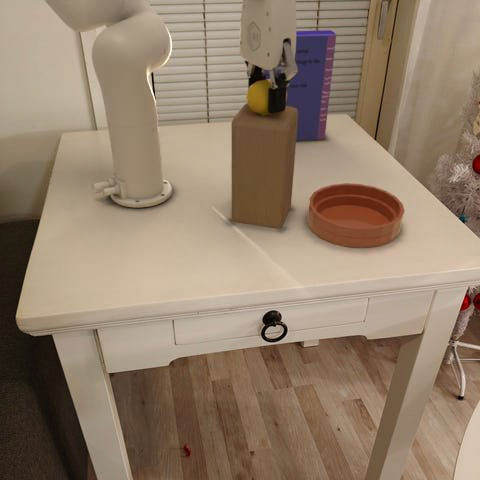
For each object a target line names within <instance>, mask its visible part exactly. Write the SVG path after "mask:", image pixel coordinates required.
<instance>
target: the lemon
mask: <svg viewBox="0 0 480 480" xmlns="http://www.w3.org/2000/svg"><path fill="white" fill-rule="evenodd" d="M269 88H272V87H271V81H270V79H268V80H262V81H257V82H255V83H254V84H252V85H251V86H250V88H249V89H248V88H247V92H246V103H247V104H248V106H249V107H250V109H251V110H252V111H254V112H255V113H258V114H261V115H262V116H263V115H268V114H270V113H269V112H268V90H269ZM286 100H287V90H286ZM272 114H273V113H272Z"/></svg>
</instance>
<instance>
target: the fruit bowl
mask: <svg viewBox="0 0 480 480" xmlns="http://www.w3.org/2000/svg"><path fill="white" fill-rule="evenodd" d="M307 206H308V207H307V216H306V217H307V220H306V224H307V226H308V227H309V229H310V231H311V232H312V233H313V234H315V235H316V236H317V237H318V238H320V239H322V240H324V241H326V242H329V243H331V244H333V245H337V246H342V247H347V248H357V249H361V248H362V249H367V248H375V247H380V246H383V245H386V244H389V243H391V242H392V241H393V240H395V239H396V238H397V237H398V236H399V234H400V231H401V228H402V225H403V224H402V223H403V220H404V215H405V207H404V204H403V202H402V201H401V200H400V199H399V198H398V197H397V196H395V195H394V194H392V193H390V192H389V191H387V190H384V189H381V188H379V187H376V186H372V185H366V184H361V183H350V182H349V183H348V182H346V183H335V184H334V183H333V184H330V185H326V186H323V187H320V188H319V189H317V190H316V191H313V192H312V194H311V196H310V197H309V198H308V205H307Z"/></svg>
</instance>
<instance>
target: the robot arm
mask: <svg viewBox="0 0 480 480" xmlns="http://www.w3.org/2000/svg"><path fill="white" fill-rule="evenodd" d="M44 2H45V3H46V4H47V5H48V6H49V8H50V9H51V10H52V11H53V12H54V13H55V14H56V16H58V18H59V19H60V20H61V21H62V22H63V23H64V24H65V25H66V26H67V27H68V28H70V29H71V30H73V31H75V32H78V33H86V32H91V31H94V30H96V29H97V30H98V29H99V28H101V27H104V26H105V27H106V28H104V29H103V30H102V31H101V32H99V34H98V35H97V36H96V38H95V40H94V41H93V45H92V49H91V59H92V61H91V62H92V65H93V69H94V72H95V73H94V74H95V75H96V79H97V81H98V84H99V88H100V92H101V95H102V100H103V107H104V112H105V118H106V123H107V130H108V137H109V143H110V150H111V155H112V162H113V163H112V164H113V168H114V172H111V173H110V178H107V180H106V181H100V182H96V183H95V182H94V183H93V184H92V189H93V192H94V193H95V194H100V193H103V195H104V196H105V197H107V196H110V198H111V200H112V201H113V202H114V203H115V204H118V205H120V206H123V207H127V208H148V207H153V206H157V205H159V204H162V203H164V202H165V201H167V200H168V199H169V198H171V196H172V193H173V189H172V185H171V183H170V182H169V181H167V180H166V179H165V178H164V171H163V162H162V151H161V150H162V149H161V142H160V141H161V140H160V128H159V127H160V126H159V117H158V108H157V101H156V98H155V94H154V92H153V89H152V87H151V84H150V80H149V75H151V74H152V73H154V72H156V71H157V70H158V69H160V68H161V67H163V66H164V65H165V64H166V63H167V62H168V61H169V59H170V57H171V53H172V49H173V43H172V37H171V34H170V30H169V29H168V27H167V25H166V23H165V22H164V21H163V20H162V18H161V17H160V15H159V14H158V13H157V12H156V10H155V9H154V8H153V7H152V6H151V5H150V4H149V2H148V0H44ZM296 31H297V3H296V0H242V6H241V15H240V28H239V55H240V57H241V58H242V59H243V61H244V63H245V66H246V76H247V77H248V78H247V79H248V82H247V87H248V88H247V90H248V89H249V88H250V86H251V85H252V84H254V83H255V82H257V81H262V80H266V76H265V75H263V74H264V70H269V73H270V81H271V87H272V88H269V90H268V112H269V113H270V114H272V113H277V112H282V111H284V110H285V107H286V90H287V87H288V86H289V82H290V81H291V80H292V77H293V76H294V75H295V74H296V73H297V72H298V68H297V65H296V62H295V52H296ZM278 64H281V66H278ZM277 66H278V67H277ZM280 70H281V74H280V75H279V76H278V78H277V74H276V71H280Z"/></svg>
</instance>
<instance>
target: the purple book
mask: <svg viewBox="0 0 480 480" xmlns="http://www.w3.org/2000/svg"><path fill="white" fill-rule="evenodd" d="M336 41H337V34H336V33H335V32H334V31H333V30H330V29H329V30H328V29H327V30H326V29H324V30H323V29H322V30H321V29H319V30H296V52H295V62H296V65H297V68H298V72H297V73H296V74H295V75H294V76H293V77H292V80H291V81H290V82H289V86H288V87H287V100H286V106H289V107H294V108H297V110H298V124H297V137H296V142H310V141H311V142H312V141H325V140H326V139H325V138H326V129H327V122H328V121H327V120H328V113H329V102H330V95H331V86H332V79H333V78H332V76H333V69H334V59H335V52H336V51H335V50H336ZM278 66H281V64H278ZM278 66H277V67H278ZM276 74H277V78H278V76H279V75H280V74H281V70H280V71H276ZM263 75H265V76H266V80H268V79H270V73H269V70H264V74H263Z"/></svg>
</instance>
